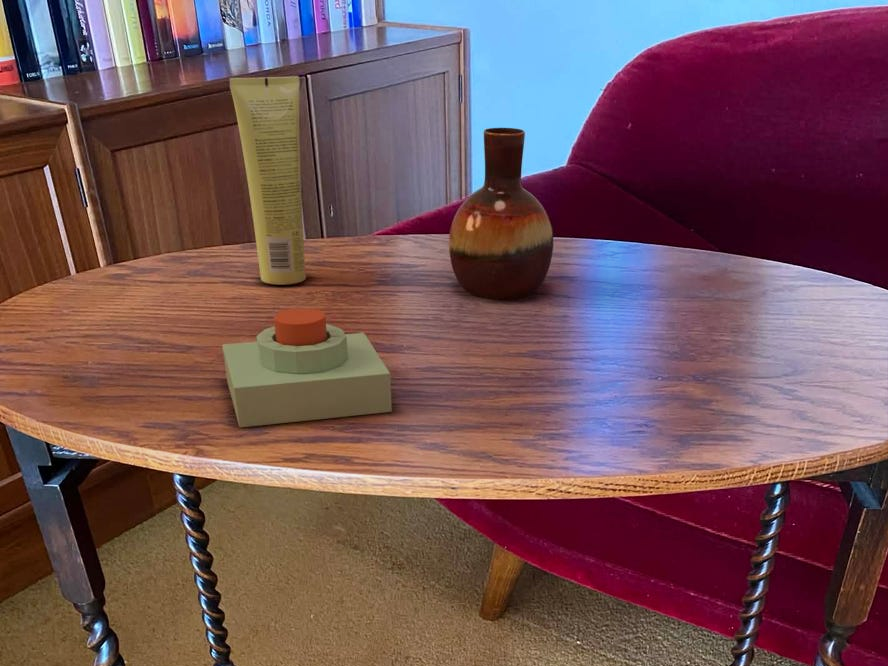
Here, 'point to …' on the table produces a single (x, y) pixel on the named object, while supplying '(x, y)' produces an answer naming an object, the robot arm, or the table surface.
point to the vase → (501, 227)
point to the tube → (273, 172)
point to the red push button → (300, 327)
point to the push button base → (306, 379)
